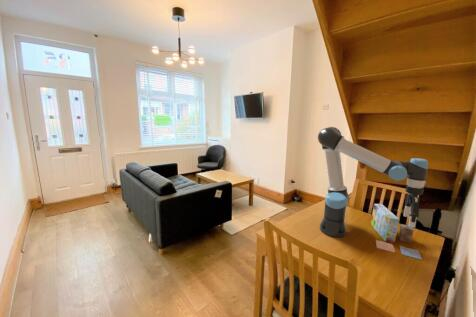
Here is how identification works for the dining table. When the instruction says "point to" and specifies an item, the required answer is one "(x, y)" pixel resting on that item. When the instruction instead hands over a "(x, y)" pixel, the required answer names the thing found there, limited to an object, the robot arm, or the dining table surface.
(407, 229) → the block
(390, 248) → the terracotta tile
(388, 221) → the snack box
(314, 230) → the dining table surface
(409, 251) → the slate tile
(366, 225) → the dining table surface
